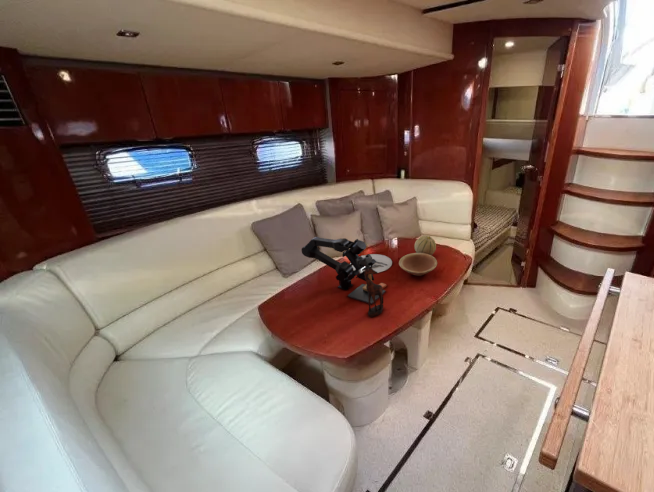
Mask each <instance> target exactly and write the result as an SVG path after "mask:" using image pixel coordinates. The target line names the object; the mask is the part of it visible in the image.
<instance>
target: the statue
mask: <svg viewBox="0 0 654 492" xmlns="http://www.w3.org/2000/svg"><path fill="white" fill-rule="evenodd" d="M368 274H375V275H377V274H378V273H377V272H376V271H375V270H373V269H372V268H370V267H369V265H368V264H367V263H366V262H365V271H364V275H365V280H366V281H365V284H367V286H366V288H367V291H368V295H369V304H368V311H367V314H368V317H370V318H373V317H374V318H375V317H377V316H379V315H381V314H382V313H383V310H384V296H383V295H382V291H383V290H384V288H382V286H381V285H378V284H376V283H374V281H373V280H372V281H371V280H370V279H369V277H368ZM375 295H379V297H380V298H379V304H377V303H376V301H375ZM371 296H372V299H373V301H374V303H373V304H374V306H372V307H371V304H370V299H371Z"/></svg>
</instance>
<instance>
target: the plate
mask: <svg viewBox="0 0 654 492" xmlns="http://www.w3.org/2000/svg"><path fill="white" fill-rule="evenodd" d="M369 254H370V255H371V257H372V259H375V261H376V263H375V264H373V265H372V269H373V270H375V271H376V272H377V274H379V273H382V272H383V273H384V272H385V271H387V270H389V269H390V268H391V267H392V265H393V261H392V259H391V258H390V257H389V256H386V255H384V254H377V253H369ZM366 255H367V254H364V255H360V256H361V257H362V258H365V257H366ZM349 264H351V262H349ZM352 267H353V270H356V269H355V268H354V266H353V265H352ZM363 271H365V270H363Z"/></svg>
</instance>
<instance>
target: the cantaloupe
mask: <svg viewBox="0 0 654 492" xmlns="http://www.w3.org/2000/svg"><path fill="white" fill-rule="evenodd" d="M413 248H414V251H415V253H425V254H429V255H431V256H433V255H434V254H435V252H436V250H437V243H436V241H435V239H434V238H433V237H432V236H431V235H422V236H419V237H418V238H417V239H416V240H415V242H414V247H413Z"/></svg>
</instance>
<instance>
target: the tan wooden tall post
mask: <svg viewBox="0 0 654 492" xmlns="http://www.w3.org/2000/svg"><path fill="white" fill-rule="evenodd" d="M368 277H369V279H370V280H371V281H372V282H373V280H372V277H371V274H368ZM366 286H367V283H365V286H364V287H363V291H364V292H367V293H368V291H367V288H366Z"/></svg>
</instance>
